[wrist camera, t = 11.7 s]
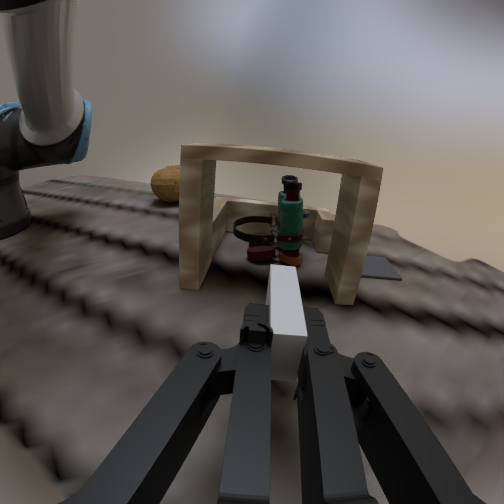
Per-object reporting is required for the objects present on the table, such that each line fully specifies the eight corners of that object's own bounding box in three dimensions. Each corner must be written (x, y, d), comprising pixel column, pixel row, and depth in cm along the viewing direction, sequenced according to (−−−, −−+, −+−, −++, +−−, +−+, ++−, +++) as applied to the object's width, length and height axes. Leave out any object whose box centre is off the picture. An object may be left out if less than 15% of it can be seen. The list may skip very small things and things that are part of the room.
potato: (137, 205, 58) (137, 168, 55) (173, 193, 70) (174, 161, 67) (175, 211, 55) (176, 171, 52) (208, 198, 68) (209, 164, 65)
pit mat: (347, 275, 35) (347, 273, 35) (336, 254, 42) (336, 252, 42) (401, 280, 35) (402, 278, 35) (384, 259, 42) (385, 257, 42)
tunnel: (179, 288, 29) (181, 145, 24) (215, 226, 49) (220, 140, 43) (352, 305, 29) (383, 167, 24) (322, 237, 48) (334, 153, 43)
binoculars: (234, 174, 40) (305, 174, 40) (236, 244, 44) (303, 244, 44) (226, 184, 32) (316, 184, 32) (230, 270, 36) (311, 270, 36)
